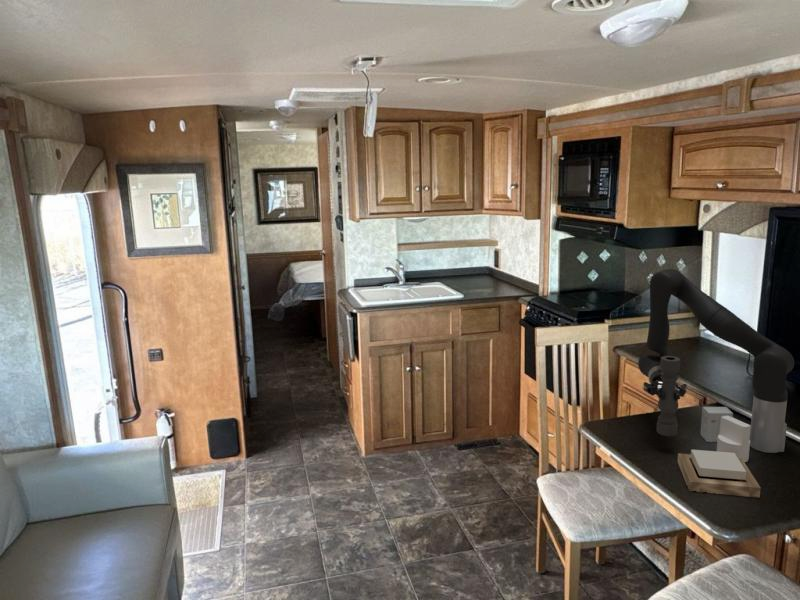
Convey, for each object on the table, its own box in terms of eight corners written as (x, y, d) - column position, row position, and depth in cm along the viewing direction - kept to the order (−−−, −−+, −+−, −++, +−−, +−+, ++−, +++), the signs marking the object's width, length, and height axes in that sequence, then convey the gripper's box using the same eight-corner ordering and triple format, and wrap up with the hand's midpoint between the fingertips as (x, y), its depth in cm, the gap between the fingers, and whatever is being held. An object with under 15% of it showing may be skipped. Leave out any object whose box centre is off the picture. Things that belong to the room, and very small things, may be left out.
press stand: (740, 467, 186) (741, 458, 185) (759, 497, 169) (760, 487, 168) (677, 462, 190) (678, 453, 190) (689, 491, 173) (690, 481, 173)
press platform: (733, 460, 183) (734, 452, 183) (745, 479, 172) (746, 471, 171) (690, 457, 186) (691, 449, 186) (699, 475, 175) (700, 467, 174)
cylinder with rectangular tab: (709, 452, 196) (712, 418, 194) (731, 448, 199) (734, 413, 196) (733, 465, 188) (736, 428, 185) (755, 460, 191) (758, 424, 188)
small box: (724, 435, 208) (726, 406, 206) (731, 442, 203) (733, 412, 201) (699, 435, 209) (701, 406, 207) (706, 442, 204) (708, 412, 202)
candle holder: (652, 429, 200) (656, 356, 195) (670, 427, 201) (674, 355, 196) (662, 436, 194) (666, 362, 189) (681, 435, 195) (685, 360, 190)
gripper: (639, 368, 210) (646, 385, 193) (684, 369, 206) (695, 387, 190) (638, 388, 211) (645, 407, 195) (682, 390, 208) (693, 409, 191)
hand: (669, 397), depth 192 cm, fingers closed on candle holder, 3 cm apart
